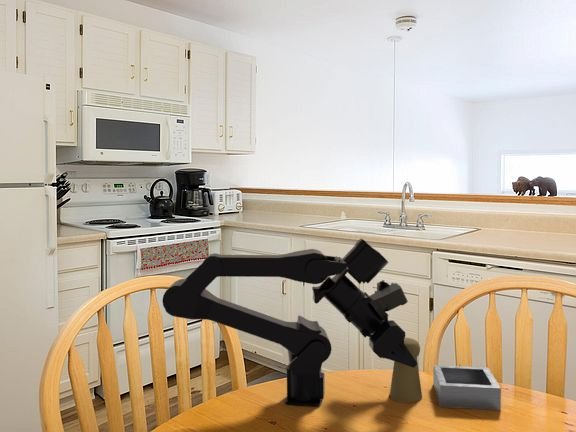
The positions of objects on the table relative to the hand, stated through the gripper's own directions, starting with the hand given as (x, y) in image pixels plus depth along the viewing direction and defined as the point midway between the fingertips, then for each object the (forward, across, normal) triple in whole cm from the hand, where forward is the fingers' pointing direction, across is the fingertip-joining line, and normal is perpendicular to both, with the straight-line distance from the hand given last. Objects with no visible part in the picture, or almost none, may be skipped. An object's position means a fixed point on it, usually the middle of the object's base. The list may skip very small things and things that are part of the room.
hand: (408, 357), depth 98 cm
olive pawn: (+5, 0, +6) cm, 8 cm away
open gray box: (+13, -1, -2) cm, 13 cm away
